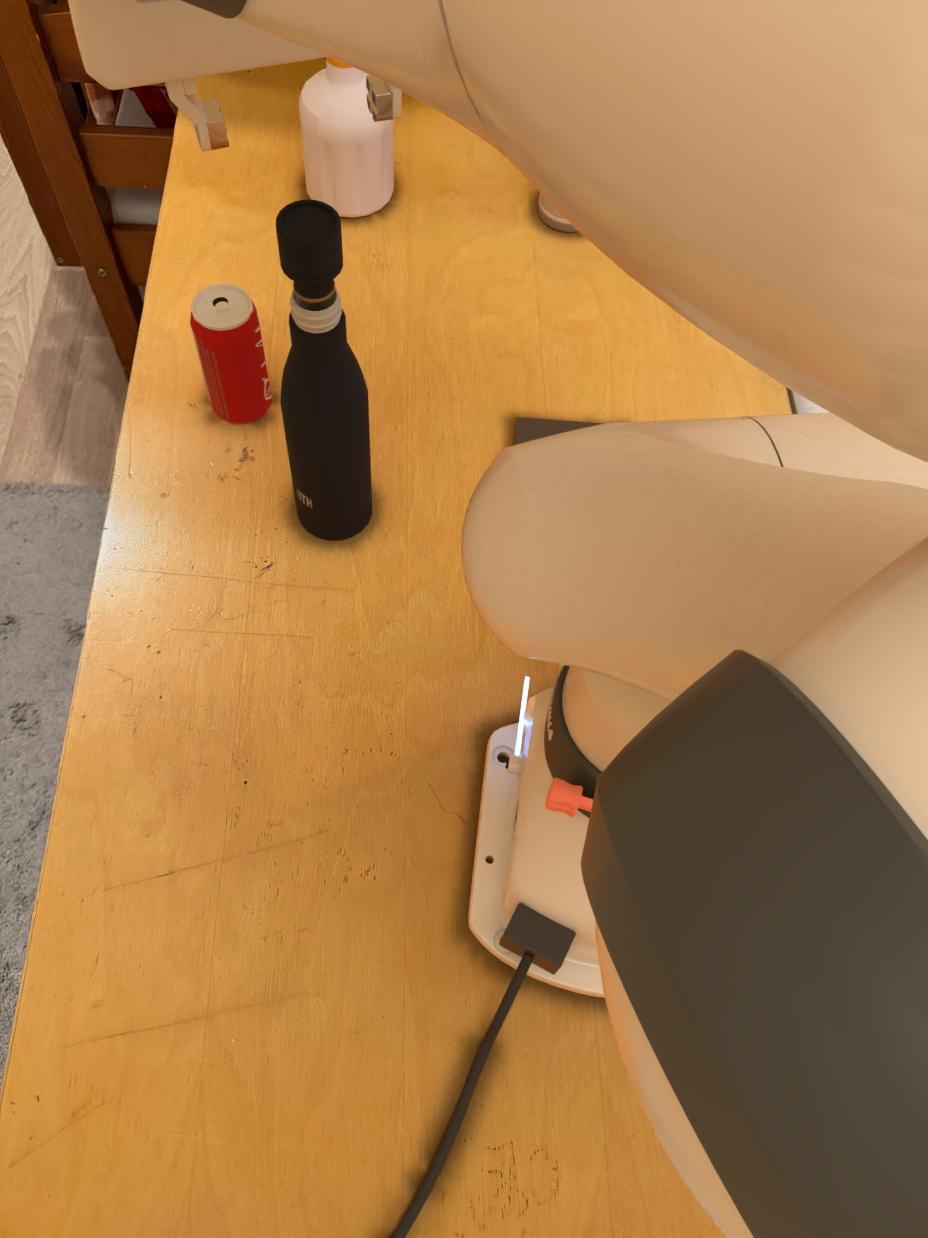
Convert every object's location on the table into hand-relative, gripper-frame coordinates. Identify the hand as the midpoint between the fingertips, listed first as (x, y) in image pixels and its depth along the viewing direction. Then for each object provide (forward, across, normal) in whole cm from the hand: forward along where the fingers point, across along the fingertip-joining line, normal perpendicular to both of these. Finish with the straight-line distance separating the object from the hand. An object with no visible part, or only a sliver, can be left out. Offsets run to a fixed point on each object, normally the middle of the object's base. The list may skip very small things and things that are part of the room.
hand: (300, 127), depth 54 cm
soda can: (+36, -5, +14) cm, 39 cm away
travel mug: (+36, +33, +29) cm, 57 cm away
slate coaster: (+36, +21, -2) cm, 42 cm away
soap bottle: (+36, +12, +38) cm, 54 cm away
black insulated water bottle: (+36, 0, 0) cm, 36 cm away
